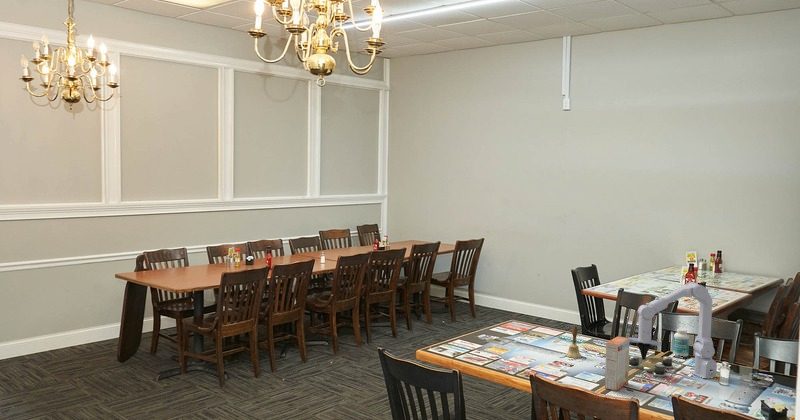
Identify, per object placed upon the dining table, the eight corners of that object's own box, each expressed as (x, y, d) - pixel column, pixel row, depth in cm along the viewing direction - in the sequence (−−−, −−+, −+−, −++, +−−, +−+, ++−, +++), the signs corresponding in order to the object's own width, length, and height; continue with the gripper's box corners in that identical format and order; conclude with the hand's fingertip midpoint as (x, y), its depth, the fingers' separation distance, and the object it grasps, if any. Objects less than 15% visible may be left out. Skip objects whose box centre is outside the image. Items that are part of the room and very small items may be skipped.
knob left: (666, 373, 301) (667, 365, 300) (661, 375, 298) (662, 367, 297) (645, 367, 309) (645, 359, 309) (640, 369, 306) (640, 361, 306)
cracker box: (615, 380, 293) (617, 335, 291) (628, 383, 289) (630, 338, 287) (603, 388, 282) (605, 341, 280) (617, 391, 278) (619, 344, 277)
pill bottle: (672, 355, 334) (673, 330, 333) (673, 352, 340) (674, 327, 339) (687, 358, 330) (689, 332, 329) (688, 354, 337) (690, 329, 336)
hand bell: (580, 354, 334) (581, 323, 332) (583, 358, 325) (584, 327, 324) (564, 353, 334) (565, 323, 333) (566, 358, 326) (567, 327, 325)
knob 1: (639, 363, 315) (639, 355, 315) (638, 366, 311) (638, 358, 310) (616, 360, 319) (616, 352, 319) (615, 362, 315) (615, 355, 315)
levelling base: (690, 375, 302) (690, 370, 302) (651, 378, 297) (651, 373, 296) (662, 362, 321) (662, 358, 321) (625, 365, 316) (625, 360, 316)
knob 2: (671, 363, 316) (671, 356, 315) (673, 366, 311) (673, 358, 311) (647, 361, 318) (648, 354, 317) (649, 364, 313) (650, 357, 313)
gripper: (662, 331, 302) (661, 359, 303) (630, 326, 310) (629, 354, 311) (660, 334, 296) (658, 363, 297) (627, 329, 304) (626, 358, 305)
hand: (643, 359), depth 304 cm, fingers closed
